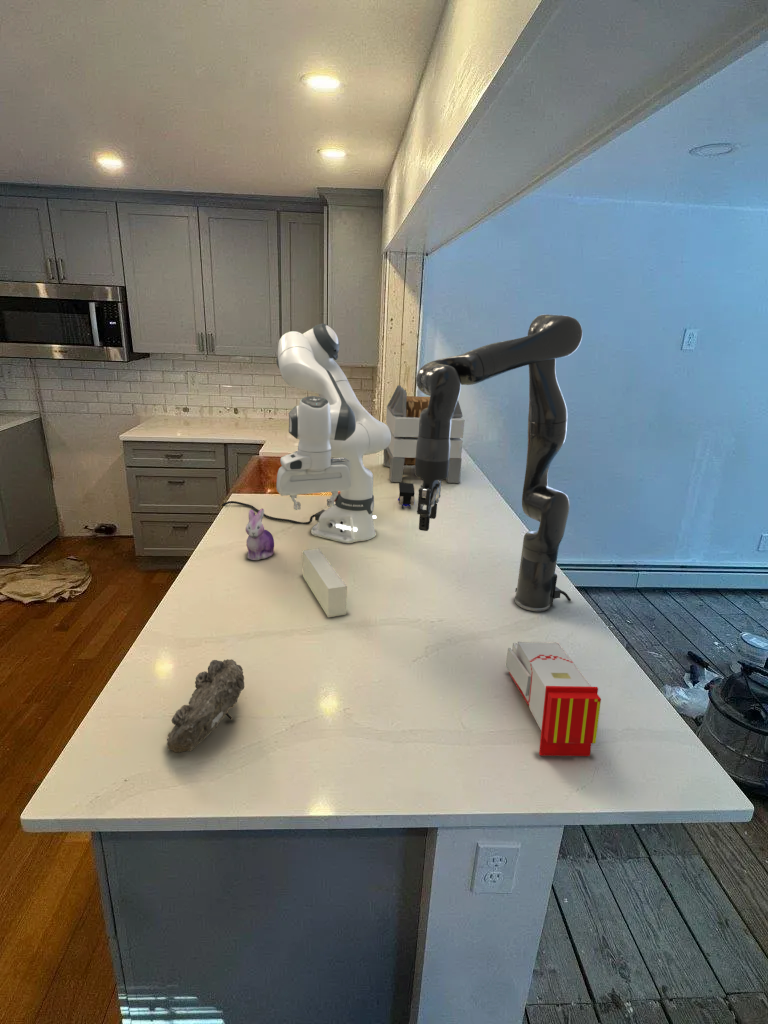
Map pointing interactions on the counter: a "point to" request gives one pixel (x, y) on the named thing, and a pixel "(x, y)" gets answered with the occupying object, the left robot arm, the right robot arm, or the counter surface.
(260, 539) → the figurine
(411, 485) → the figurine character
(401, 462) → the transformer
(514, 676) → the toy
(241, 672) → the fossil
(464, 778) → the counter surface
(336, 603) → the bar
